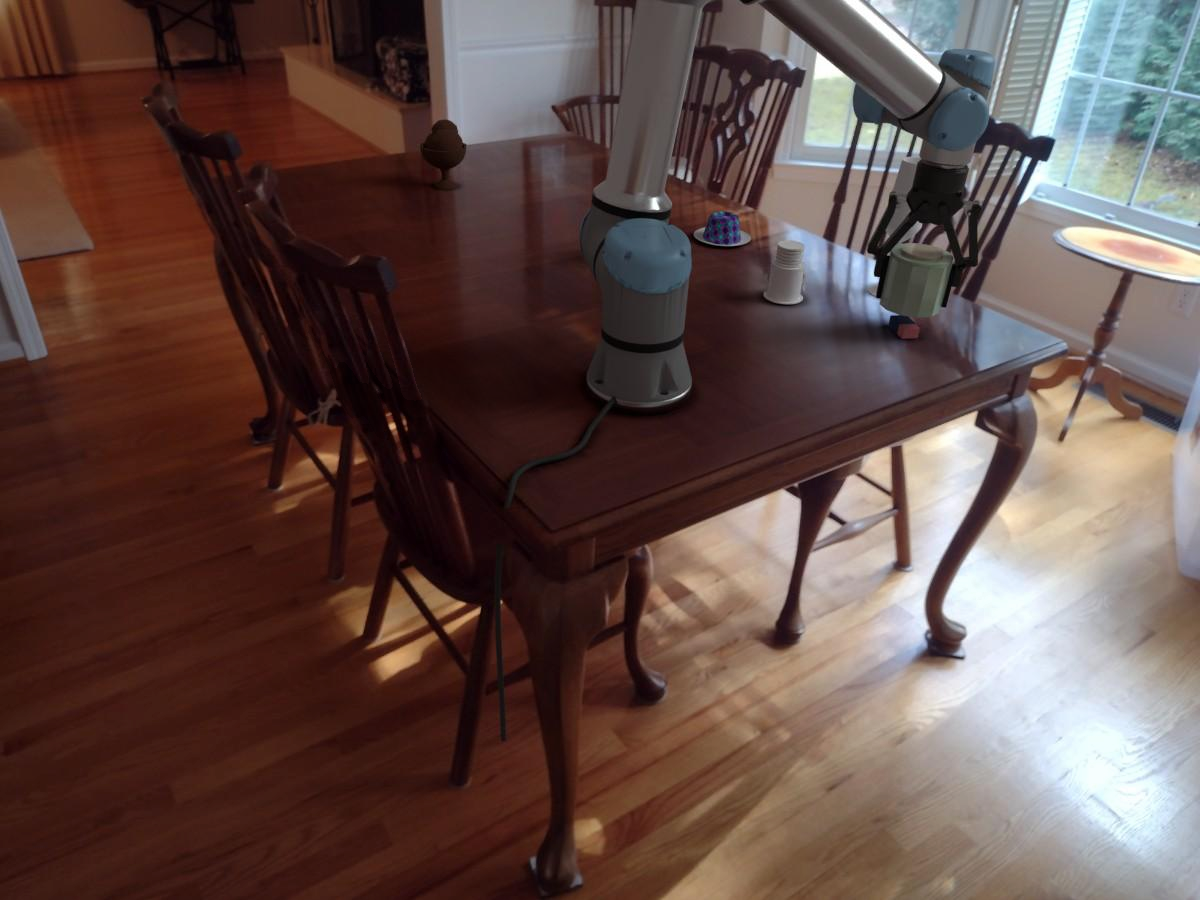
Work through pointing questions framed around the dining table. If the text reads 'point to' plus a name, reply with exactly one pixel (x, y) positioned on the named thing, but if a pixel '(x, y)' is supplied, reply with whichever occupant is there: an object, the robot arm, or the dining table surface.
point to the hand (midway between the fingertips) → (910, 299)
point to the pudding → (722, 230)
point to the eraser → (903, 326)
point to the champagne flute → (903, 187)
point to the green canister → (916, 280)
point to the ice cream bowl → (444, 151)
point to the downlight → (786, 274)
